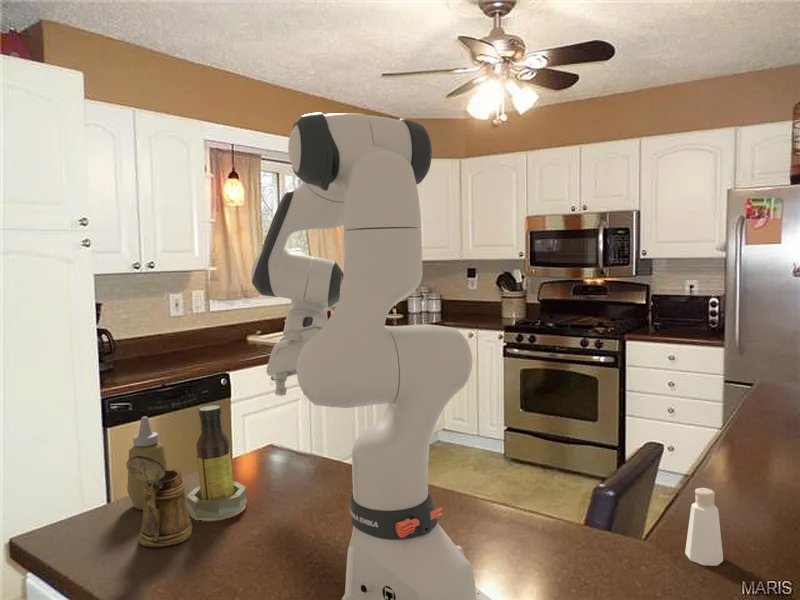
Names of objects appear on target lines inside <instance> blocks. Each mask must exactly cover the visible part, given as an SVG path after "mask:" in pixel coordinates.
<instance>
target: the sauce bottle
mask: <svg viewBox="0 0 800 600" xmlns="http://www.w3.org/2000/svg"><path fill="white" fill-rule="evenodd" d="M221 415H222V410H221V406H219V405H206V406H203V407H200V408H199V409H198V416H199V418H200V431H201V434H200V436H199V437H198V440H197V442H196V451H197V455H196V456H197V458H196V459H197V469H198V476H199V477H198V478H199V486H200V491H201V500H220V499H223V498H227V497H230V496H233V495H234V486H233V481H234V476H233V468H232V467H233V465H232V455H231V446H230V441H229V438H228V436H227V434H225V432H224V431H223V429H222V420H221Z"/></svg>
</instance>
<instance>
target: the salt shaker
mask: <svg viewBox="0 0 800 600" xmlns="http://www.w3.org/2000/svg"><path fill="white" fill-rule="evenodd" d="M694 493H695V495H694V497H695V502H693V503H692V504H691V506H690V513H689V520H688V528H687V535H686V542H685V543H686V544H685V551H684V554H685V555H686V557H688V560H689V561H690V562H693V563H696V564H699V565H701V566H710V567H714V566H715V567H717V566H719V565H721V563H723V561H724V555H723V543H722V536H721V525H720V514H719V508H718V507H717V506H716V505H715V495H716V492H714V490H713V489H711V488H706V487H698V488H695V490H694Z"/></svg>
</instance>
